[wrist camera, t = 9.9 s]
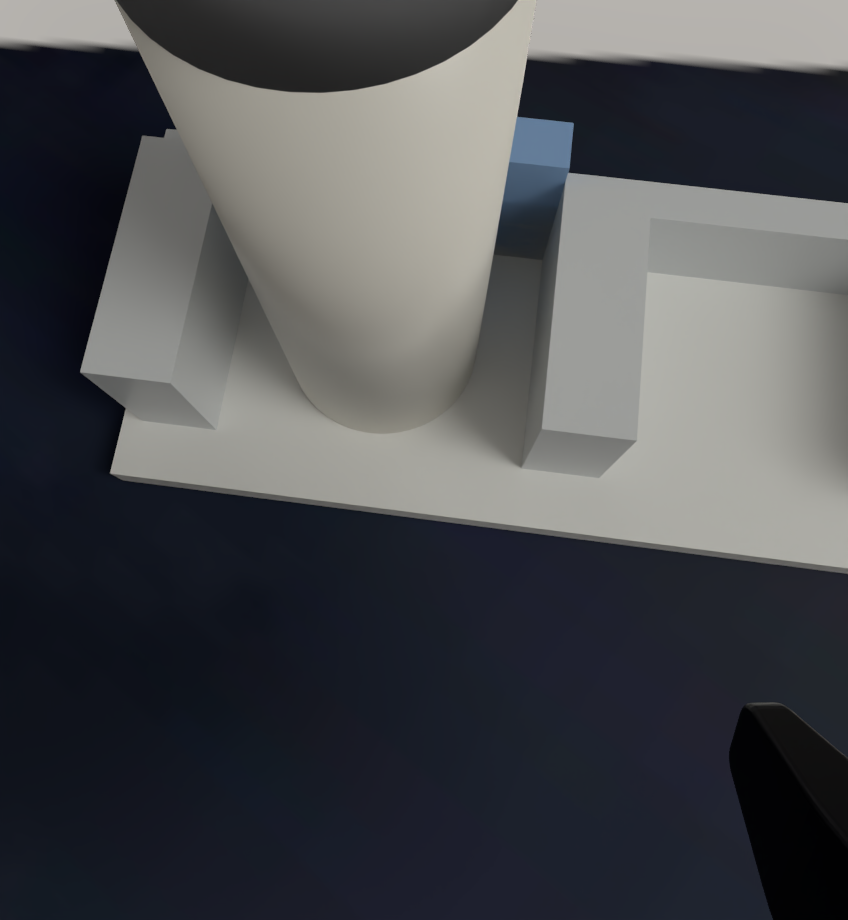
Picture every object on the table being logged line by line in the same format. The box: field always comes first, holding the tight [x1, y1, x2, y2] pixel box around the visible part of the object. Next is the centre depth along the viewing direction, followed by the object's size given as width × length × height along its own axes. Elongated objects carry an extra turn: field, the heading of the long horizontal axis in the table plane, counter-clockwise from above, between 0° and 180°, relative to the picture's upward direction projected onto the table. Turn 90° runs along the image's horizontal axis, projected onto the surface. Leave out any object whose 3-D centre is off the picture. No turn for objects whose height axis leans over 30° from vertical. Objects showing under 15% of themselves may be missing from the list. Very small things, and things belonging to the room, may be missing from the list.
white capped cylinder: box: [115, 0, 537, 434], centre depth 13 cm, size 5×5×14 cm
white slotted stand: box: [80, 117, 848, 574], centre depth 18 cm, size 9×23×5 cm, turn 82°
